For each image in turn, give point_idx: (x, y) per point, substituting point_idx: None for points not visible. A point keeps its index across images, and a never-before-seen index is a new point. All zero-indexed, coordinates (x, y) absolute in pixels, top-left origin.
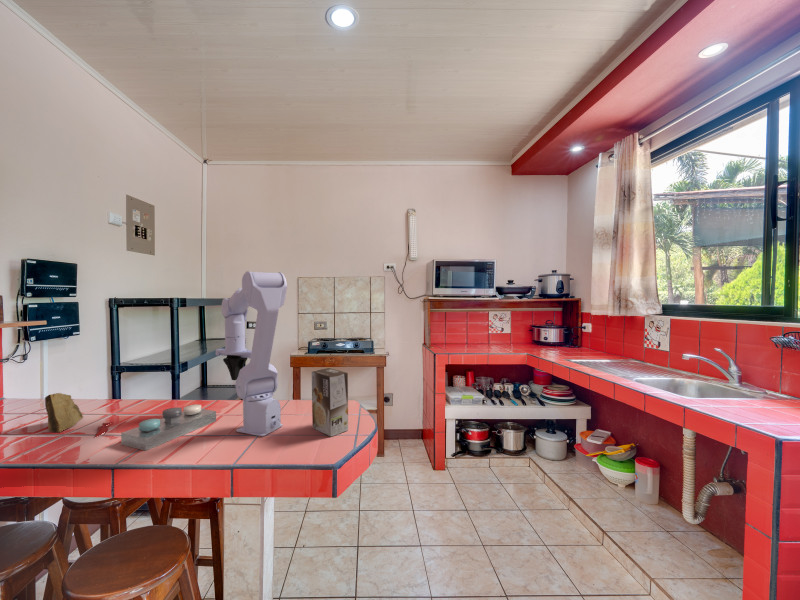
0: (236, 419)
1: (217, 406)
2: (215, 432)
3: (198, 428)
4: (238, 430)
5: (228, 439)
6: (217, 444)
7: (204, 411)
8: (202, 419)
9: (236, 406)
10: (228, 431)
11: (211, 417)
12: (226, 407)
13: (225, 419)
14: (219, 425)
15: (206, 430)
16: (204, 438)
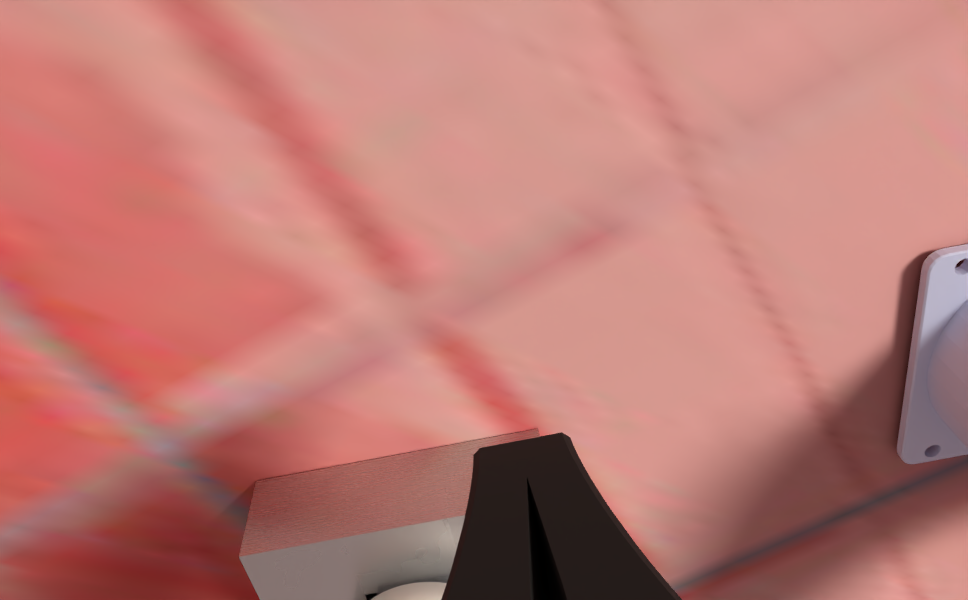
0: (672, 314)
1: (68, 208)
2: (744, 521)
3: None
4: (934, 460)
5: (932, 527)
6: (916, 585)
7: None
8: None
9: (271, 75)
10: (825, 471)
11: None
12: (203, 169)
13: (572, 366)
14: (652, 453)
15: (647, 537)
16: (758, 590)
